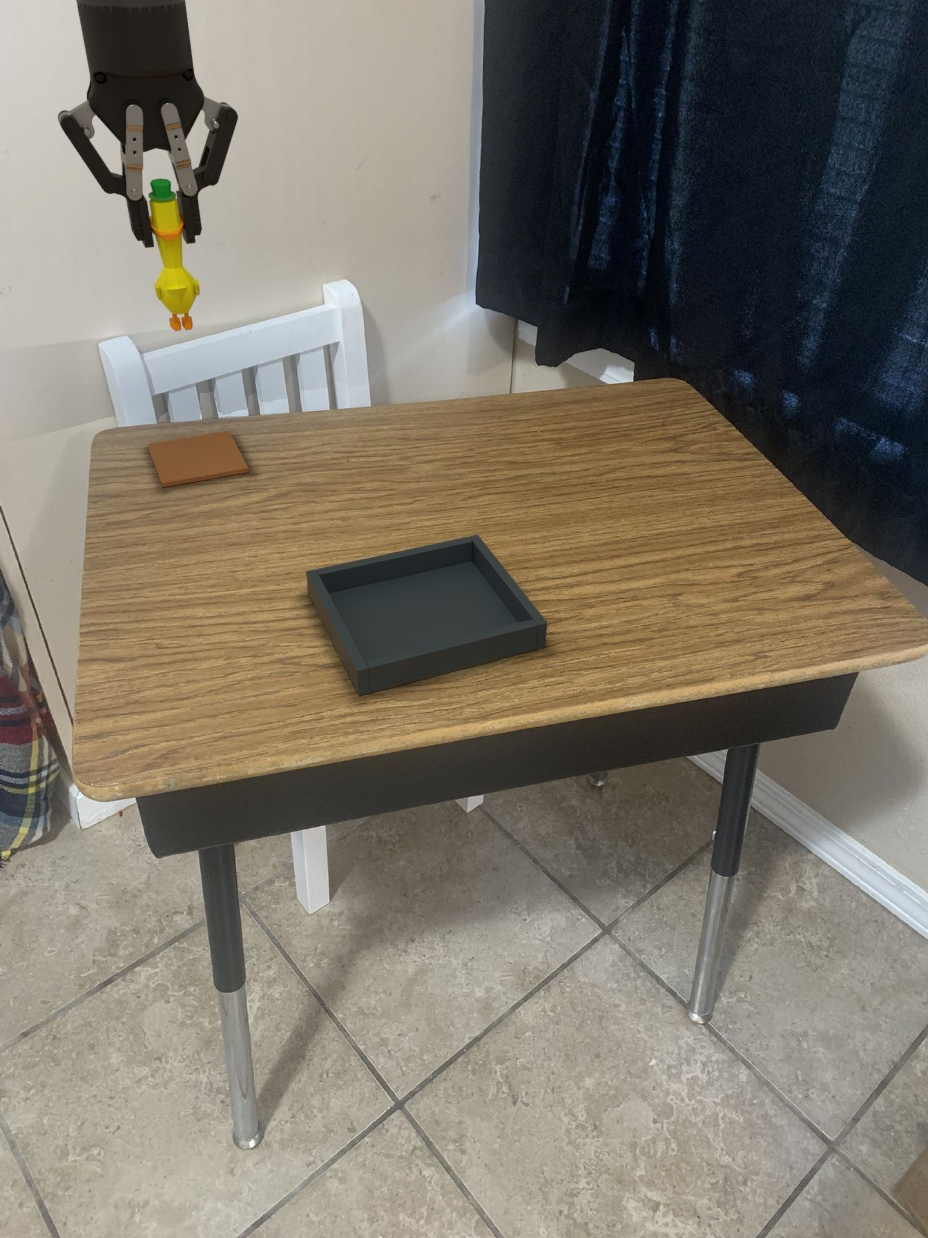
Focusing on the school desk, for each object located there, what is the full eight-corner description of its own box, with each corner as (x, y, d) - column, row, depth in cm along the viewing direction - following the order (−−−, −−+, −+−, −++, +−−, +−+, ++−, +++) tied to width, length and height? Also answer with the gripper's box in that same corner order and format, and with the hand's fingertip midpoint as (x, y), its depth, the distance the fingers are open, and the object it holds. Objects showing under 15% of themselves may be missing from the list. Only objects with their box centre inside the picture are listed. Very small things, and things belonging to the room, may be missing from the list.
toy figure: (156, 313, 87) (132, 168, 79) (197, 309, 88) (177, 166, 80) (165, 342, 82) (140, 190, 74) (208, 337, 83) (188, 187, 75)
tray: (359, 696, 68) (357, 670, 67) (307, 595, 77) (305, 570, 76) (545, 647, 73) (547, 622, 71) (476, 558, 82) (477, 533, 80)
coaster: (162, 487, 89) (161, 482, 89) (148, 448, 95) (147, 443, 95) (249, 472, 92) (248, 467, 92) (230, 434, 98) (229, 430, 98)
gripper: (217, -13, 75) (242, 222, 85) (22, -11, 70) (74, 237, 81) (240, -1, 69) (263, 248, 80) (30, 2, 65) (85, 266, 75)
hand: (168, 241), depth 80 cm, fingers closed on toy figure, 2 cm apart
